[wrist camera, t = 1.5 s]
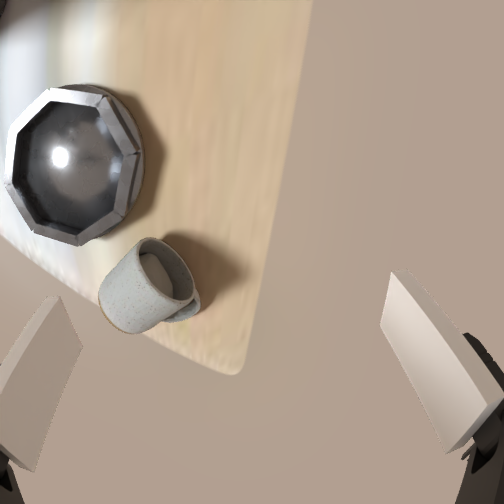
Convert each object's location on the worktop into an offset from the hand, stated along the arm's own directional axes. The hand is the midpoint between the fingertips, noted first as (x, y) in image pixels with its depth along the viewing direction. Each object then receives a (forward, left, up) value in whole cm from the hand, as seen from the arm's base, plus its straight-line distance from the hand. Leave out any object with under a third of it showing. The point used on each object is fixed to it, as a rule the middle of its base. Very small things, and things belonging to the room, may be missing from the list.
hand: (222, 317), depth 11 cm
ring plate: (-16, -2, -20) cm, 26 cm away
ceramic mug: (-4, -12, -20) cm, 24 cm away
